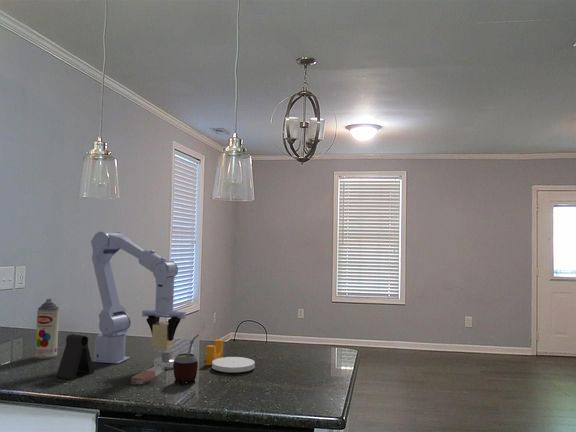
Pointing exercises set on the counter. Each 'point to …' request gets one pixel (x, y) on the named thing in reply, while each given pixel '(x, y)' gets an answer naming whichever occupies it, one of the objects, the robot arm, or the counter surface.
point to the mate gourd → (185, 366)
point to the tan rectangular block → (161, 335)
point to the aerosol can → (47, 331)
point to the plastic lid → (233, 364)
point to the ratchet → (155, 368)
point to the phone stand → (75, 358)
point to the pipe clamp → (214, 351)
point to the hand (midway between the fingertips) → (163, 339)
